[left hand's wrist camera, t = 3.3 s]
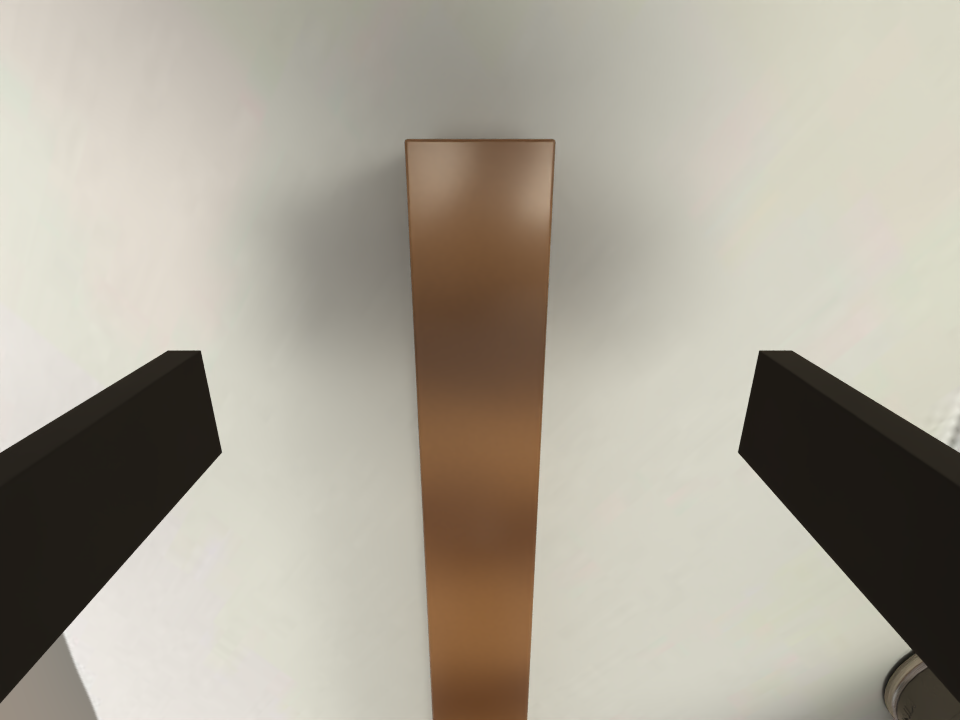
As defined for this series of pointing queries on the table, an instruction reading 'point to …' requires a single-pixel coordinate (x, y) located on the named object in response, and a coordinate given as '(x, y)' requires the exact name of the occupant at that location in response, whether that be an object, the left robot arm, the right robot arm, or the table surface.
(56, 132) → the table surface
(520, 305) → the post
